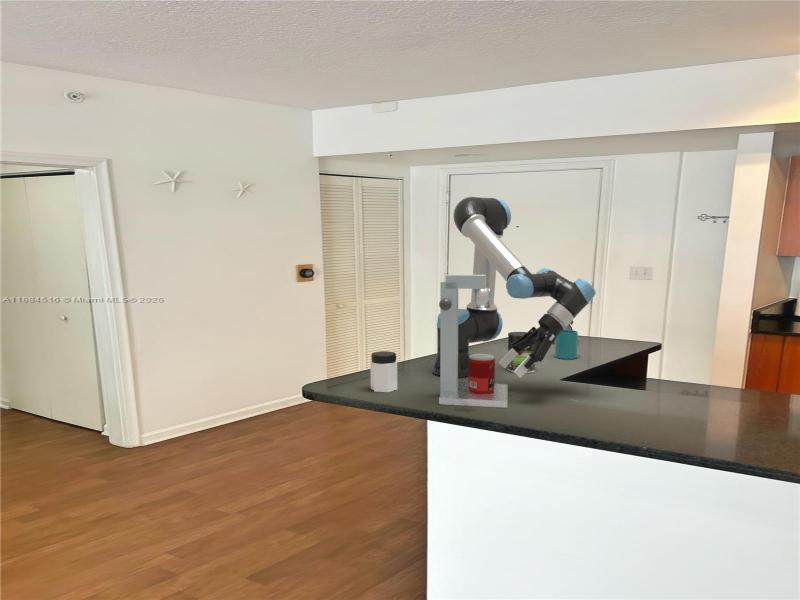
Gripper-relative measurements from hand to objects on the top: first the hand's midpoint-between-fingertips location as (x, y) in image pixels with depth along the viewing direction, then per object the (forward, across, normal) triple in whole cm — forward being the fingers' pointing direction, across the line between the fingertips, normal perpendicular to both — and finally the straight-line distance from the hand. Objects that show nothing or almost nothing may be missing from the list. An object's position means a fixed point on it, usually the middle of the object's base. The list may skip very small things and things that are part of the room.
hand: (508, 370), depth 168 cm
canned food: (+11, 0, +2) cm, 11 cm away
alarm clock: (-34, +84, -47) cm, 102 cm away
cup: (-26, +54, -39) cm, 71 cm away
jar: (+32, +15, +21) cm, 41 cm away
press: (+14, 0, +2) cm, 14 cm away
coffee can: (-6, +33, -18) cm, 38 cm away
